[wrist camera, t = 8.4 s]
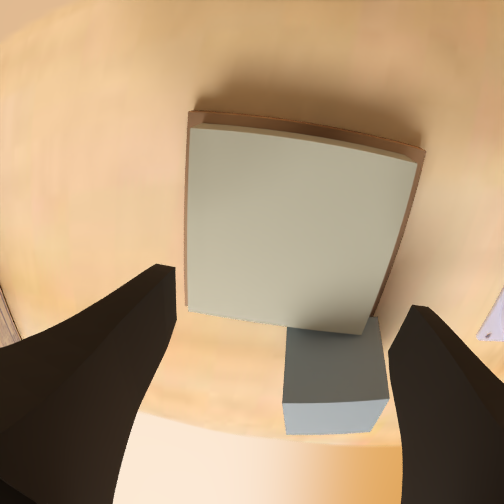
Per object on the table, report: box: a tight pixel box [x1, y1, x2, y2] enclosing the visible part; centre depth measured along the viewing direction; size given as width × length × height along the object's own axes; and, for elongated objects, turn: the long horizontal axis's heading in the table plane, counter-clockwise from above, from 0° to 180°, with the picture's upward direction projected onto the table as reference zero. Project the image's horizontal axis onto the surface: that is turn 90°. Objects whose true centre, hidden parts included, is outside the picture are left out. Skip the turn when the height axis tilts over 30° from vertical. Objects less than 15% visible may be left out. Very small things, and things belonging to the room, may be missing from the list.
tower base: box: [184, 110, 426, 317], centre depth 14 cm, size 10×10×2 cm
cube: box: [282, 317, 389, 435], centre depth 15 cm, size 4×4×4 cm
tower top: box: [187, 123, 417, 335], centre depth 13 cm, size 8×8×2 cm
